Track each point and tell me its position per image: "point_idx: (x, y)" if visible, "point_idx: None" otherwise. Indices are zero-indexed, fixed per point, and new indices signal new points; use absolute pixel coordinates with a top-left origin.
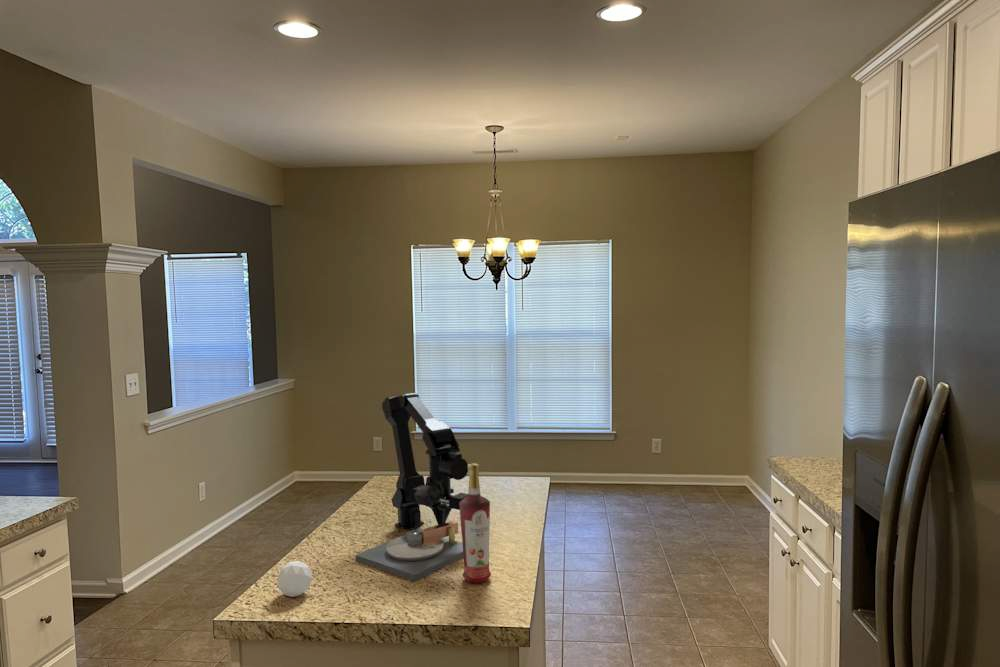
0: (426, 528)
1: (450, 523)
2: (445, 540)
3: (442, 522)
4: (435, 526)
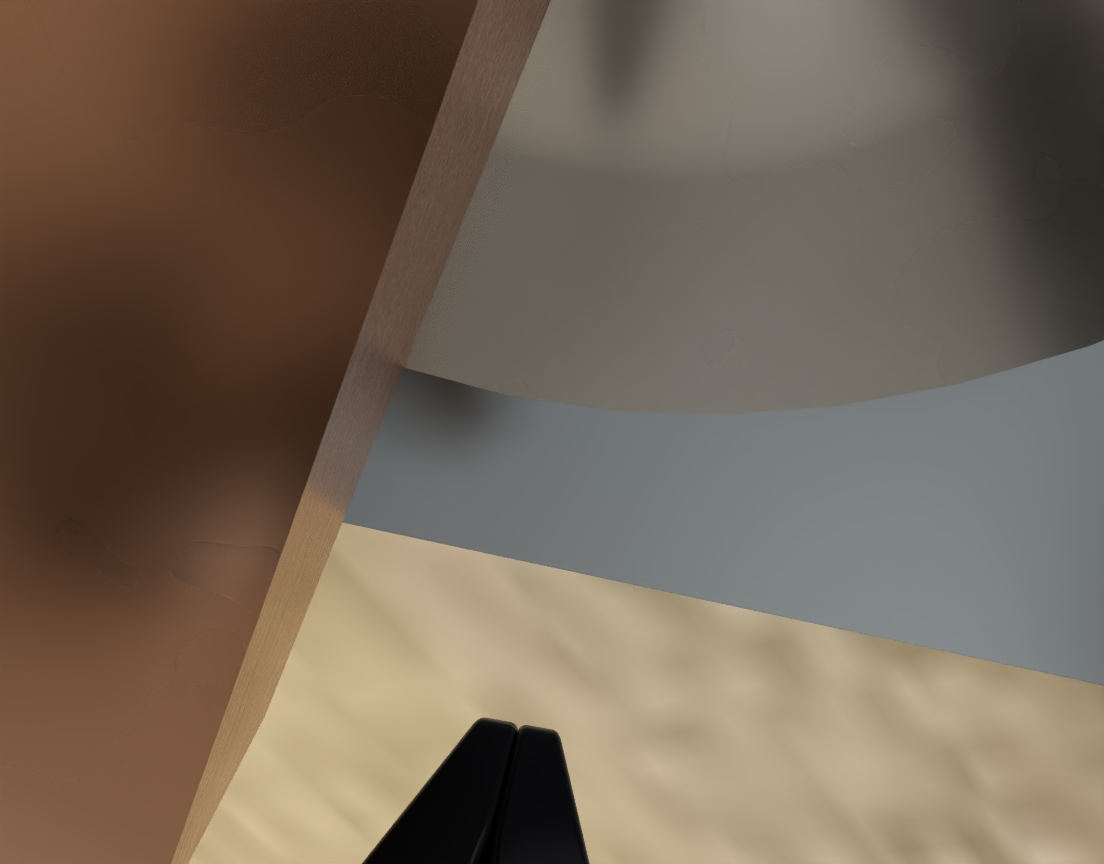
0: (413, 38)
1: (33, 818)
2: (377, 461)
3: (382, 860)
4: (210, 469)
